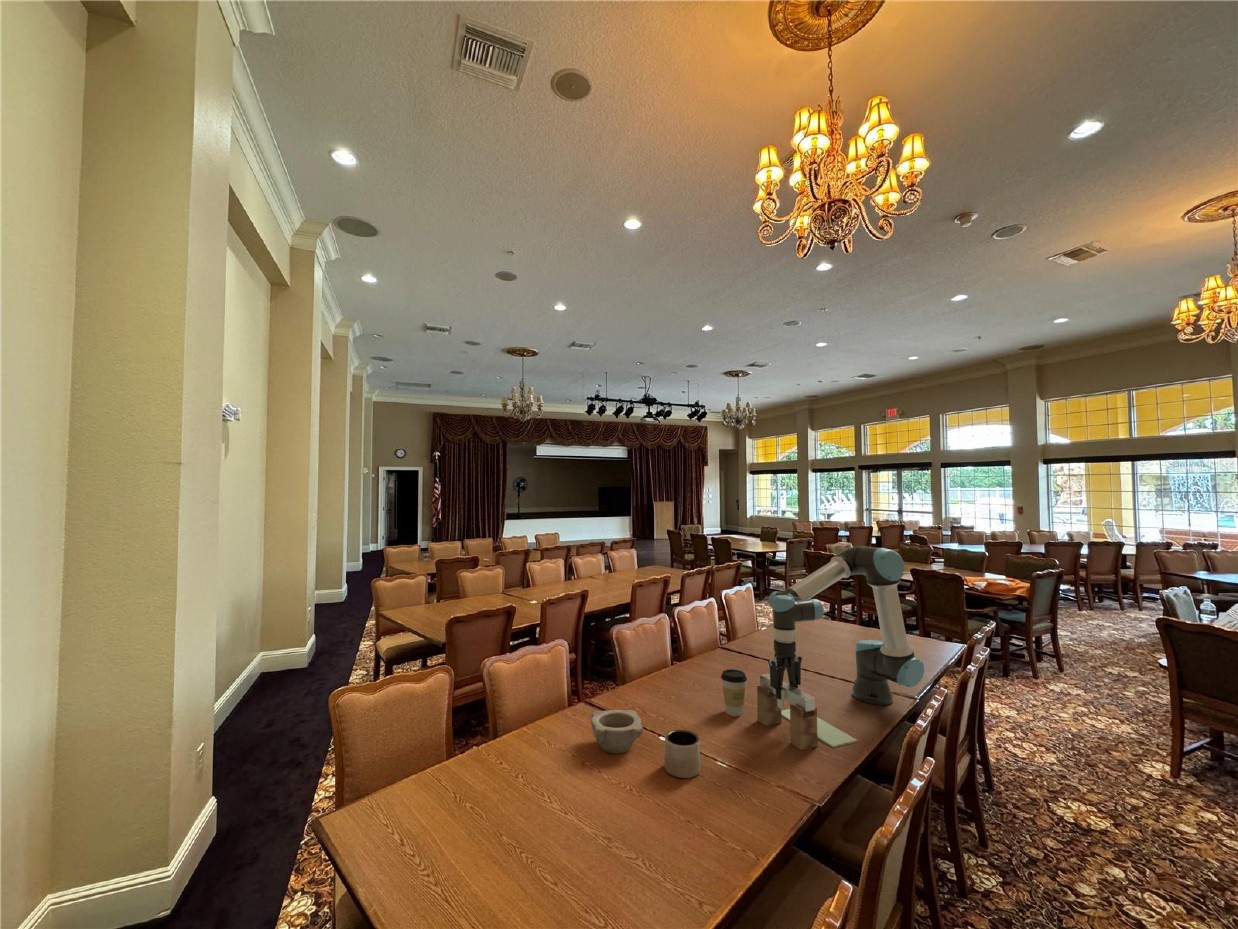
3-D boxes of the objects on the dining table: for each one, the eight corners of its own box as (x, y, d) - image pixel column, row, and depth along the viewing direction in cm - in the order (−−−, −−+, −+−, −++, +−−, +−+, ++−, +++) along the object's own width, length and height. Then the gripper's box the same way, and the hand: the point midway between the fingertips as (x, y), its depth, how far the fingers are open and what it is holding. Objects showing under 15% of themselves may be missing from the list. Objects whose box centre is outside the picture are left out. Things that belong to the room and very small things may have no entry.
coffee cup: (748, 719, 183) (747, 678, 184) (721, 717, 185) (721, 676, 186) (746, 708, 193) (746, 669, 194) (721, 706, 195) (720, 667, 196)
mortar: (638, 734, 172) (638, 707, 172) (644, 759, 155) (644, 729, 156) (590, 735, 170) (590, 708, 171) (591, 761, 154) (591, 731, 154)
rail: (760, 685, 185) (759, 674, 185) (768, 684, 186) (768, 673, 186) (805, 711, 162) (805, 699, 163) (815, 709, 164) (814, 697, 164)
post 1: (772, 717, 185) (772, 683, 186) (781, 723, 181) (781, 688, 181) (757, 720, 183) (757, 686, 184) (766, 726, 178) (765, 691, 179)
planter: (677, 784, 142) (677, 749, 143) (657, 765, 152) (657, 733, 152) (707, 774, 147) (707, 741, 148) (686, 757, 157) (686, 726, 157)
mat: (799, 708, 193) (799, 707, 193) (857, 742, 167) (857, 740, 167) (777, 713, 189) (776, 711, 189) (832, 747, 163) (832, 745, 163)
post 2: (806, 739, 168) (806, 702, 169) (817, 746, 164) (816, 708, 165) (790, 743, 166) (790, 705, 167) (801, 750, 161) (800, 711, 162)
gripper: (796, 634, 182) (798, 699, 181) (758, 639, 176) (759, 706, 174) (810, 640, 175) (812, 707, 174) (771, 645, 169) (773, 715, 167)
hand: (786, 706), depth 174 cm, fingers closed on rail, 4 cm apart
